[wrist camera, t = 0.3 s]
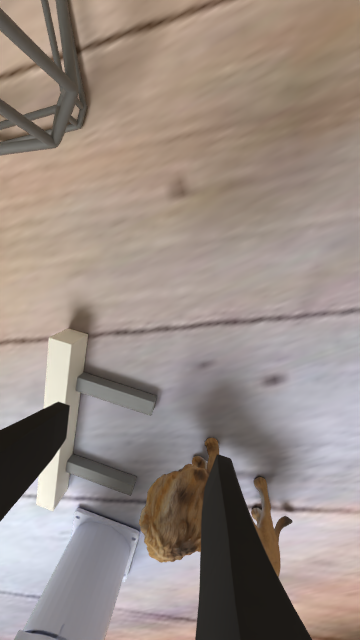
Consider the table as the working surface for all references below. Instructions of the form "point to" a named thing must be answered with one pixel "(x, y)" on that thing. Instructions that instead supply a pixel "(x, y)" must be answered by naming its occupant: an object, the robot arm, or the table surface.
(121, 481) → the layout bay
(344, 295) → the table surface
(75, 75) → the geometric lantern
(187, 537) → the lion figurine
